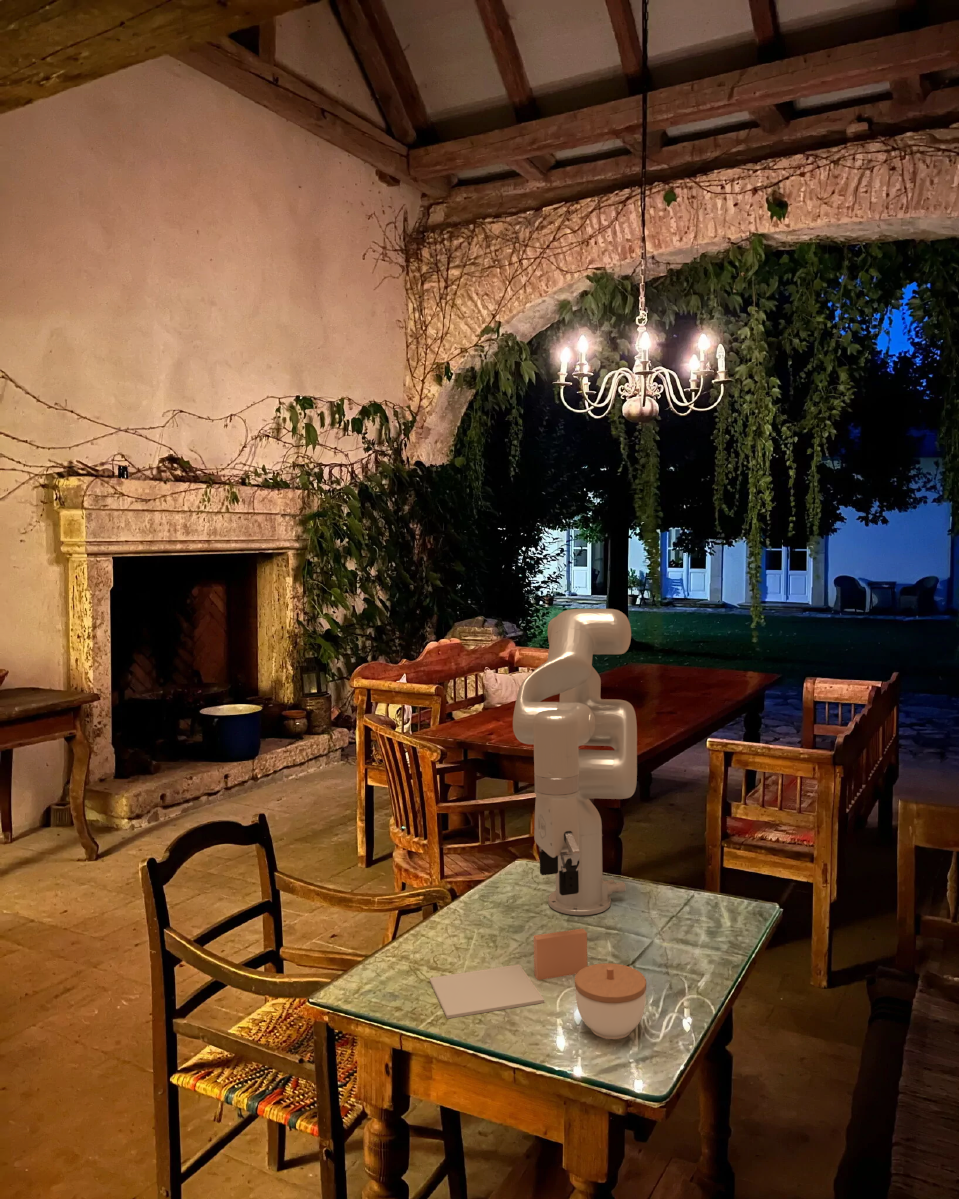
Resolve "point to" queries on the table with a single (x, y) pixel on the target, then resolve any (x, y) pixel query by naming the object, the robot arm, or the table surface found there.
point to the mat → (485, 991)
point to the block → (560, 953)
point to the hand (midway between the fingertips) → (558, 883)
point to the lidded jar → (610, 999)
